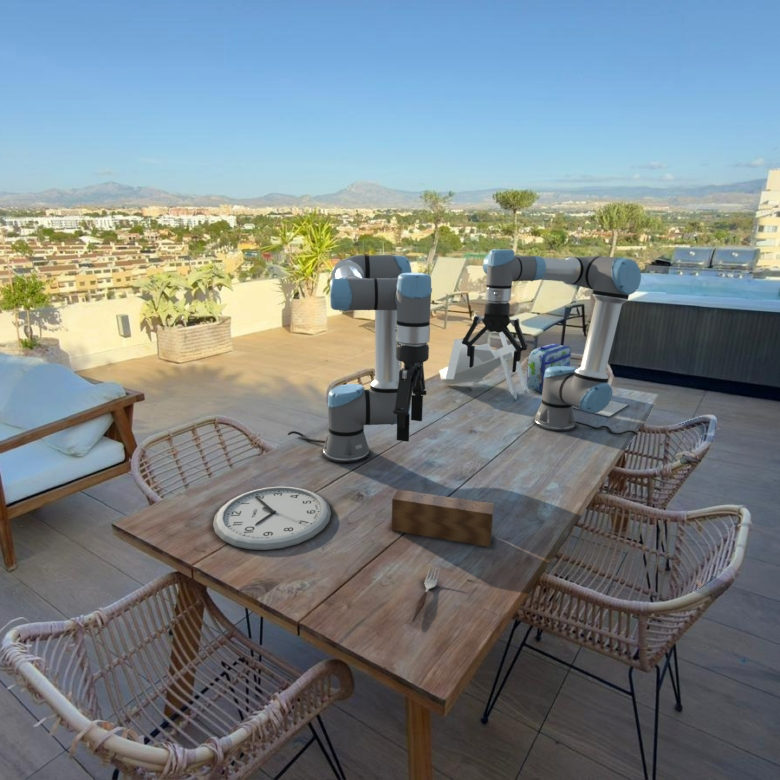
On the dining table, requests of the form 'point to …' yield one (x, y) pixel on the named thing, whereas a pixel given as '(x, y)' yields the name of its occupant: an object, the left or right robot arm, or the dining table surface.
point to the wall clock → (272, 518)
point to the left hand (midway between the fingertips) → (409, 430)
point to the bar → (443, 517)
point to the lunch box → (545, 363)
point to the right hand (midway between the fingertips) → (492, 369)
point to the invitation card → (611, 408)
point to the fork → (428, 584)
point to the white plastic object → (481, 364)
